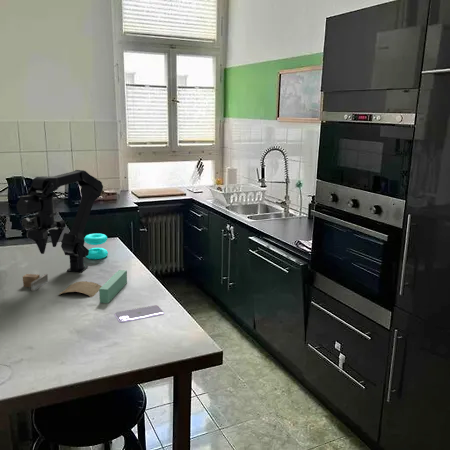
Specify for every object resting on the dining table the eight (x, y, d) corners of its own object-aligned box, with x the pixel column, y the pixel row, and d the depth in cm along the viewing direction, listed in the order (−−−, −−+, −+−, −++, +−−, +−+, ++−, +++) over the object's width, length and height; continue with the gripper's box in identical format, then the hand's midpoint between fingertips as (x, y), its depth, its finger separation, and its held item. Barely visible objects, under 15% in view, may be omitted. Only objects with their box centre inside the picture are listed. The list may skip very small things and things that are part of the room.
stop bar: (119, 282, 176) (119, 269, 175) (127, 282, 176) (126, 270, 175) (99, 302, 157) (99, 288, 156) (108, 303, 157) (107, 289, 155)
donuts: (103, 238, 199) (80, 238, 200) (104, 260, 202) (82, 259, 202) (109, 233, 209) (88, 232, 209) (110, 253, 211) (89, 253, 212)
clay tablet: (104, 288, 171) (103, 281, 171) (95, 299, 161) (94, 291, 161) (66, 287, 172) (66, 280, 171) (55, 297, 162) (54, 290, 162)
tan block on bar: (18, 290, 167) (17, 279, 166) (32, 280, 176) (31, 270, 175) (34, 291, 166) (33, 280, 165) (47, 281, 176) (47, 271, 175)
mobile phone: (165, 312, 149) (119, 321, 142) (165, 315, 149) (119, 324, 142) (157, 303, 155) (113, 311, 149) (157, 306, 156) (113, 314, 149)
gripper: (38, 204, 181) (41, 242, 184) (11, 214, 163) (15, 256, 166) (64, 206, 179) (67, 244, 183) (40, 216, 161) (44, 258, 165)
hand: (48, 250), depth 174 cm, fingers open, 9 cm apart
